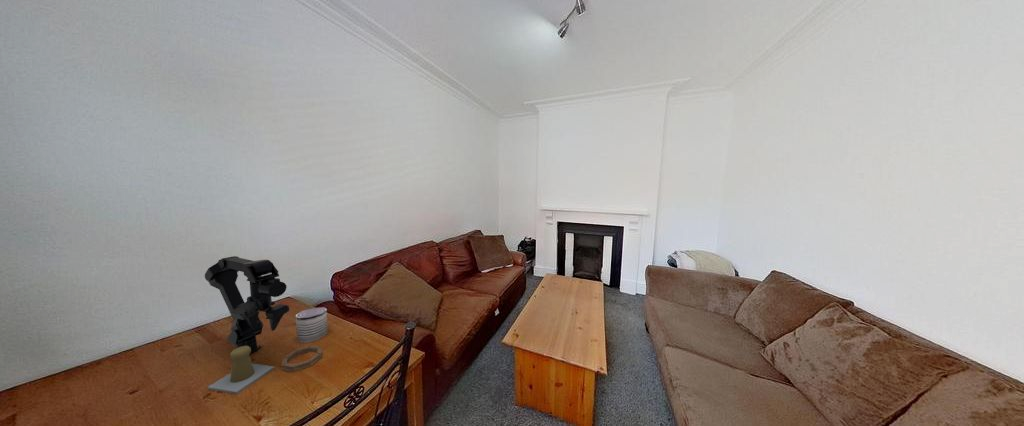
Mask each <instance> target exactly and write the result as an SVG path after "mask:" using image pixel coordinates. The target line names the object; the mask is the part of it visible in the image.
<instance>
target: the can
mask: <svg viewBox="0 0 1024 426" xmlns="http://www.w3.org/2000/svg"><path fill="white" fill-rule="evenodd" d="M327 310H328V309H327V308H326V307H325V306H323V307H312V308H309V309H305V310H301V311H300V312H299V313H297V314H296V315H295V322H296V323H295V324H296V325H295V326H296V336H297V341H298V342H299V343H310V342H314V341H317V340H319V339H321V338H323V337H325V336H326V334H327V333H328V318H327V315H328V314H327Z"/></svg>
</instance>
